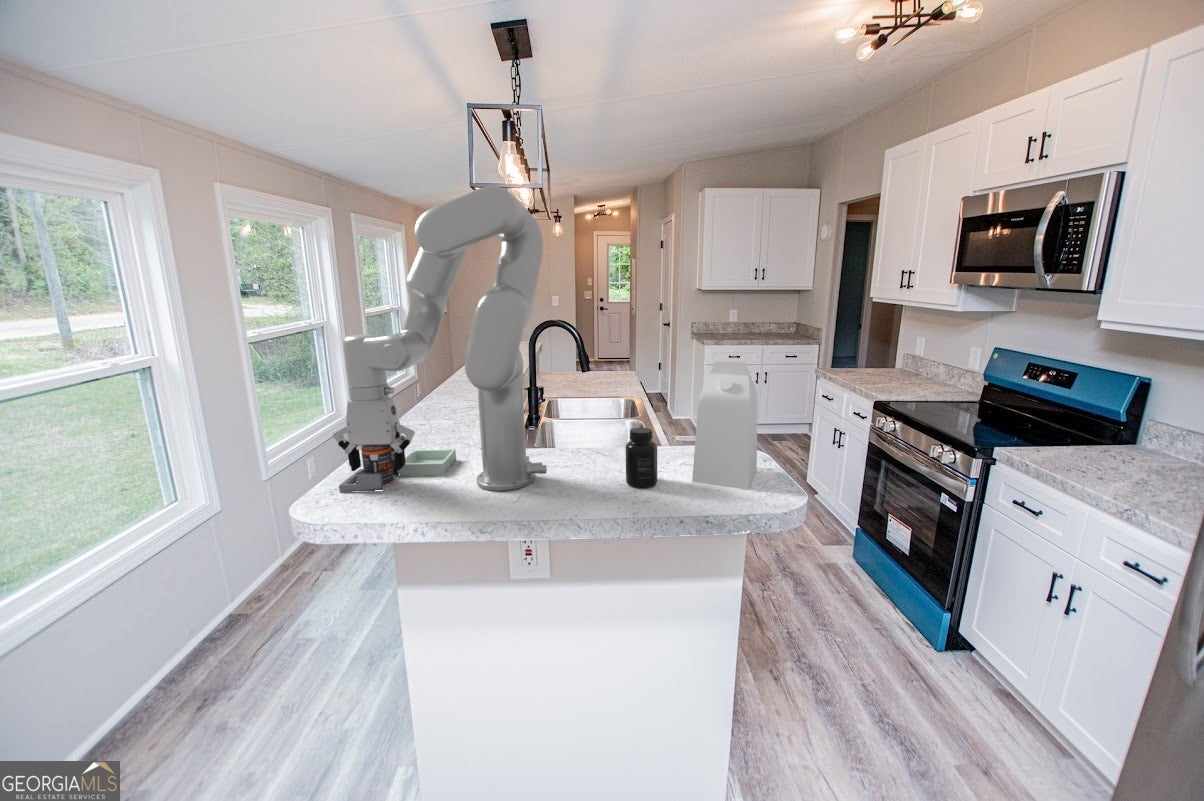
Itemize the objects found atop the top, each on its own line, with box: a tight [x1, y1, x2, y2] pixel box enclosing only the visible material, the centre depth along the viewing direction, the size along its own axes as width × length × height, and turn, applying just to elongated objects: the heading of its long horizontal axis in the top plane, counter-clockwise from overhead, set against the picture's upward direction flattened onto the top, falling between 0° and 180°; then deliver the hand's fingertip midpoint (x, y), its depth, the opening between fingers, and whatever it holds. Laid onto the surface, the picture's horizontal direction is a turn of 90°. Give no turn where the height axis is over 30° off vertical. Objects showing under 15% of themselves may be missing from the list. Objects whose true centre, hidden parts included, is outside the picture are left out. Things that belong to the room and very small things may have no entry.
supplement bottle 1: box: [360, 445, 395, 487], centre depth 111 cm, size 6×6×11 cm
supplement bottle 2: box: [625, 427, 658, 489], centre depth 108 cm, size 7×7×12 cm
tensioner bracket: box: [338, 458, 400, 493], centre depth 112 cm, size 9×10×4 cm
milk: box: [691, 359, 758, 491], centre depth 110 cm, size 12×12×26 cm
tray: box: [399, 449, 457, 477], centre depth 121 cm, size 10×10×3 cm
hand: (378, 468), depth 111 cm, fingers open, 9 cm apart
